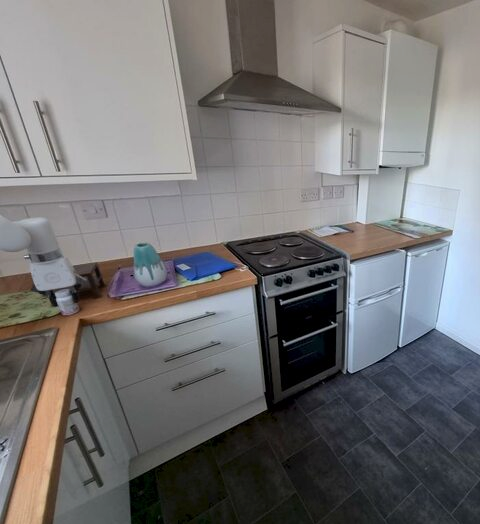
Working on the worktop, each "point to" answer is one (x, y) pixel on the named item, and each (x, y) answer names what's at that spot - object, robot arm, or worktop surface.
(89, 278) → the shelf
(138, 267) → the vase
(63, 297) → the pill bottle
